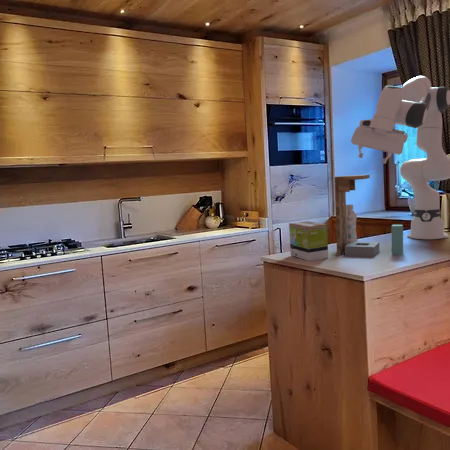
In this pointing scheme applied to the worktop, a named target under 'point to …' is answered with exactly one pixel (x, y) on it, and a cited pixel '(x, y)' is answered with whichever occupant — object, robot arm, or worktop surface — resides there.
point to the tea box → (308, 240)
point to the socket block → (362, 249)
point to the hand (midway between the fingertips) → (371, 160)
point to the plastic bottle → (351, 224)
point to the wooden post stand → (343, 207)
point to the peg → (397, 239)
